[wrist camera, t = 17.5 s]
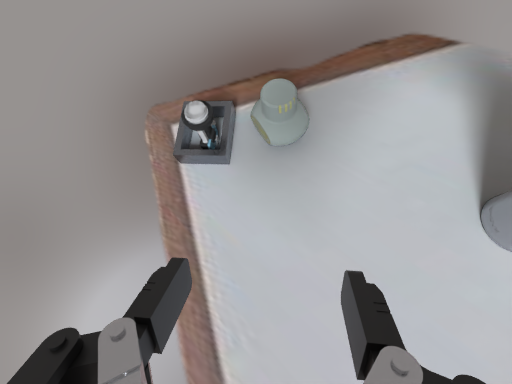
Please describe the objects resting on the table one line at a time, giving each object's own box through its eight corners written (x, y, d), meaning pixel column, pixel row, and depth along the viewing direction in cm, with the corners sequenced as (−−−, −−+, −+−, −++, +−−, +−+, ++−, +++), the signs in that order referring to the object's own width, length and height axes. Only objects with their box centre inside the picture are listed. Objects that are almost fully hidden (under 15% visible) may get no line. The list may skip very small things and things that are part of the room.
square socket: (235, 112, 51) (232, 100, 48) (229, 164, 47) (225, 155, 44) (190, 112, 52) (183, 101, 49) (180, 163, 48) (173, 154, 45)
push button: (203, 124, 51) (184, 89, 42) (228, 125, 50) (215, 90, 41) (196, 152, 49) (175, 123, 39) (222, 154, 48) (207, 124, 39)
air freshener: (247, 118, 50) (239, 82, 41) (282, 99, 51) (281, 58, 42) (277, 159, 47) (274, 128, 37) (313, 137, 47) (320, 102, 38)
